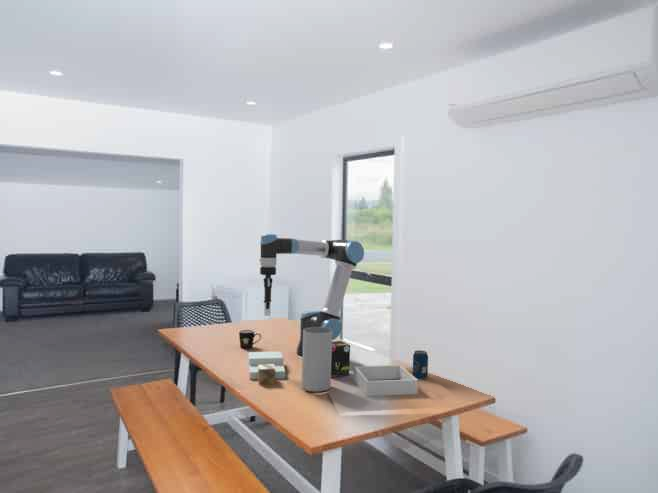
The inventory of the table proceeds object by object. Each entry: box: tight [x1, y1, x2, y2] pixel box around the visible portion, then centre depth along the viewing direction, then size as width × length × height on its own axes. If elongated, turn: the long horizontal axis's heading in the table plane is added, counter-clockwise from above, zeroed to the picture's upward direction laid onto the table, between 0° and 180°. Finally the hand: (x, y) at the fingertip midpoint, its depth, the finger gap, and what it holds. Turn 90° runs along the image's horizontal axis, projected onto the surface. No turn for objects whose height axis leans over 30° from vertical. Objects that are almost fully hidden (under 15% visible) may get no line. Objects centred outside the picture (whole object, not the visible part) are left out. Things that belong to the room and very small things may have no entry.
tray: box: [352, 364, 419, 397], centre depth 211 cm, size 22×22×6 cm
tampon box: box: [331, 340, 351, 379], centre depth 227 cm, size 11×9×15 cm
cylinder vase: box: [301, 327, 333, 393], centre depth 207 cm, size 12×12×25 cm
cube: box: [257, 364, 276, 386], centre depth 213 cm, size 7×7×7 cm
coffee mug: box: [238, 329, 262, 350], centre depth 269 cm, size 12×9×10 cm
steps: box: [247, 351, 286, 380], centre depth 229 cm, size 16×23×6 cm
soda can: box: [412, 350, 429, 380], centre depth 226 cm, size 7×7×12 cm
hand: (267, 315), depth 230 cm, fingers closed
